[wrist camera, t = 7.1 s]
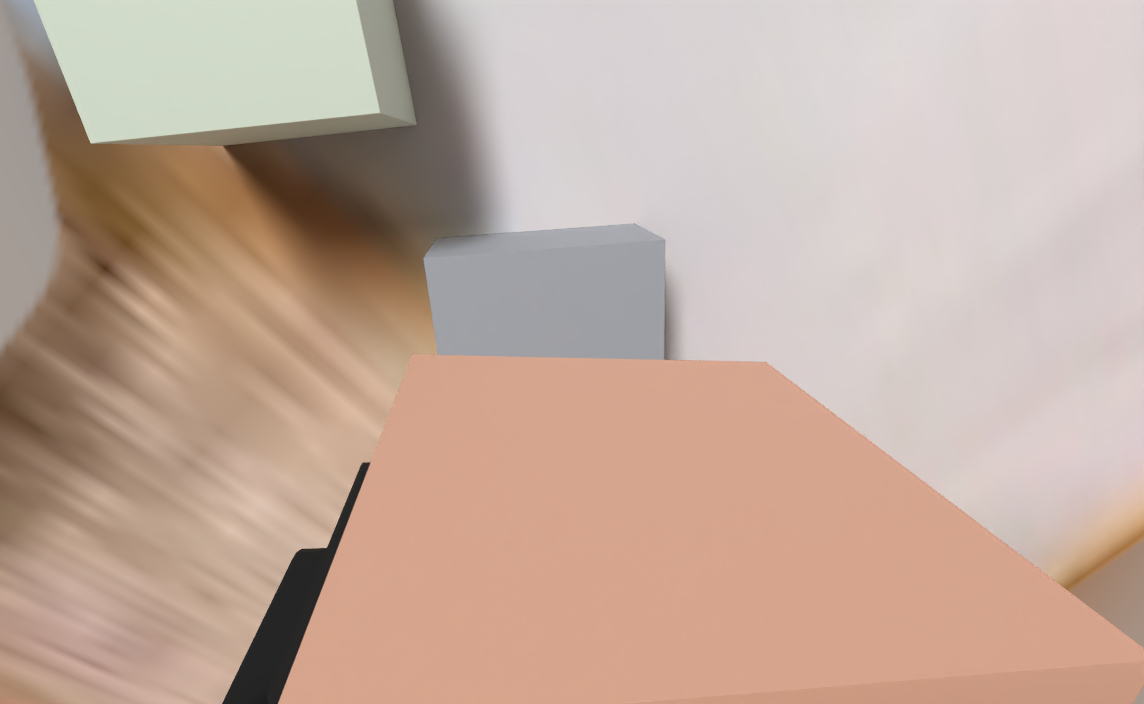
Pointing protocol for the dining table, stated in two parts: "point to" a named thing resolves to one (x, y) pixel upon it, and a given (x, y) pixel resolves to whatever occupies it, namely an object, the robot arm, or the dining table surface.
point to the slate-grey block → (550, 293)
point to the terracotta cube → (673, 556)
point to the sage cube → (229, 68)
